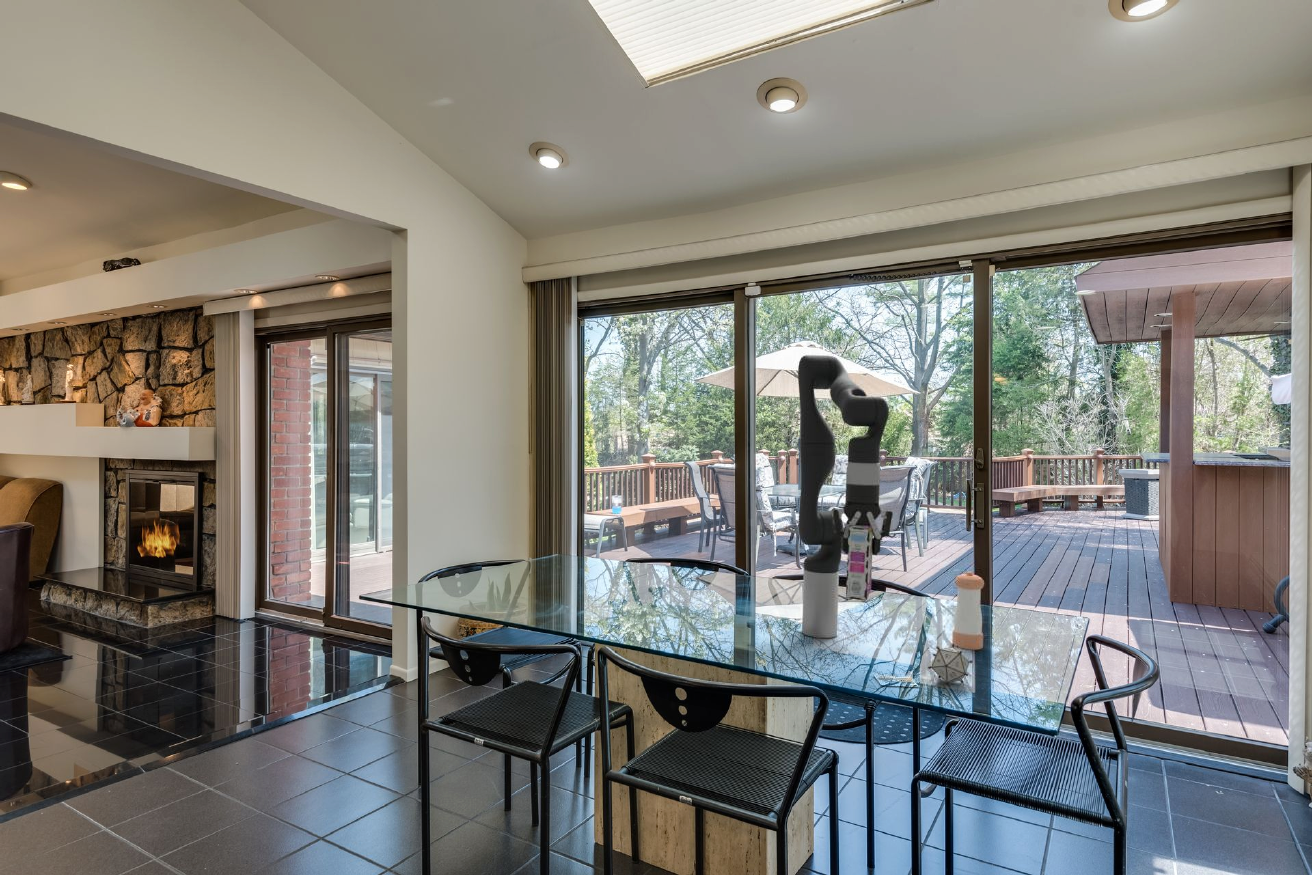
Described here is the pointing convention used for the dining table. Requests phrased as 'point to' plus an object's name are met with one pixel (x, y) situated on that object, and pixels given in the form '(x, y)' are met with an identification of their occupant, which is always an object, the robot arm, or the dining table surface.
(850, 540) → the candy bar box
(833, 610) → the robot arm
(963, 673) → the game die
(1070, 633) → the dining table surface
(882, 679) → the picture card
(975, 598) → the pepper shaker
